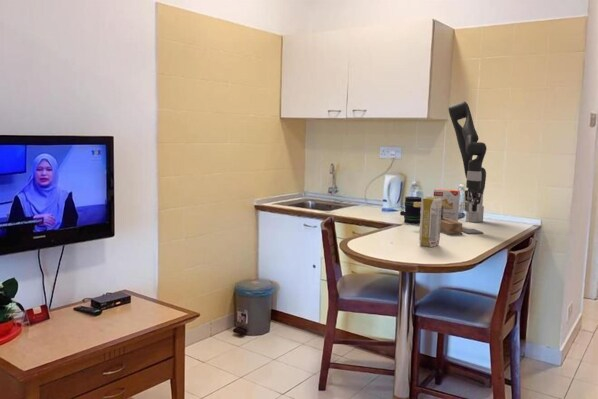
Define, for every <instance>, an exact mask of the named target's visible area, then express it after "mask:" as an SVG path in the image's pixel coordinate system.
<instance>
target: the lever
mask: <svg viewBox="0 0 598 399" xmlns="http://www.w3.org/2000/svg"><path fill="white" fill-rule="evenodd" d="M441 204H442V207H441V218H443V207H445V202H441ZM413 207H421V202H414V205H413Z"/></svg>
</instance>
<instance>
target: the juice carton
mask: <svg viewBox="0 0 598 399" xmlns="http://www.w3.org/2000/svg"><path fill="white" fill-rule="evenodd" d="M432 196H433V195H426V196H425V198H424V197H423V198H422V199H421V200H422V202H421V217H420V223H419V237H418V238H419V246H421V245H423V246H422V247H426V246H429V247H428V248H433V246H434V247H436V245H437V246H438V245H439V244H440V241H441V240H440V239H441V232H440V225H441V207H442V204H441V198H433V197H434V196H433V197H432Z"/></svg>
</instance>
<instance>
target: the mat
mask: <svg viewBox="0 0 598 399" xmlns="http://www.w3.org/2000/svg"><path fill="white" fill-rule="evenodd" d="M462 233H464V234H467V235H484V234H485V233H484V232H483V231H480V230H478V229H475V228H462Z"/></svg>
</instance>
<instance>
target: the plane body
mask: <svg viewBox="0 0 598 399" xmlns="http://www.w3.org/2000/svg"><path fill="white" fill-rule="evenodd" d="M462 229H463V223H462V222H460V221H458V222H457V221H454V220H451V219H449V218H446V217H443V218H441V225H440V233H442V234H444V235H447V236H458V235H459V236H462V235H463V233H464V232H462Z"/></svg>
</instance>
